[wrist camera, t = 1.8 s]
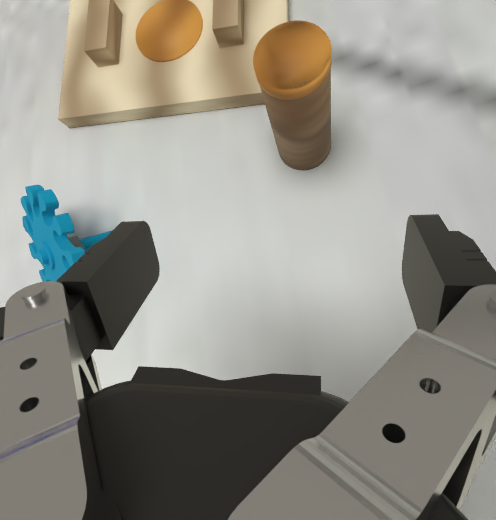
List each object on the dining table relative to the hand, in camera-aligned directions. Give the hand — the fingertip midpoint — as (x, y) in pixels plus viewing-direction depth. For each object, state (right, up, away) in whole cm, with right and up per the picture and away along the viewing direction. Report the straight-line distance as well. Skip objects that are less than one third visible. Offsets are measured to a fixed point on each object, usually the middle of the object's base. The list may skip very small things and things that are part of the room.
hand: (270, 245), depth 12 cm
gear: (-14, -1, +20) cm, 24 cm away
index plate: (-7, +19, +22) cm, 30 cm away
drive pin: (+4, +8, +18) cm, 20 cm away
